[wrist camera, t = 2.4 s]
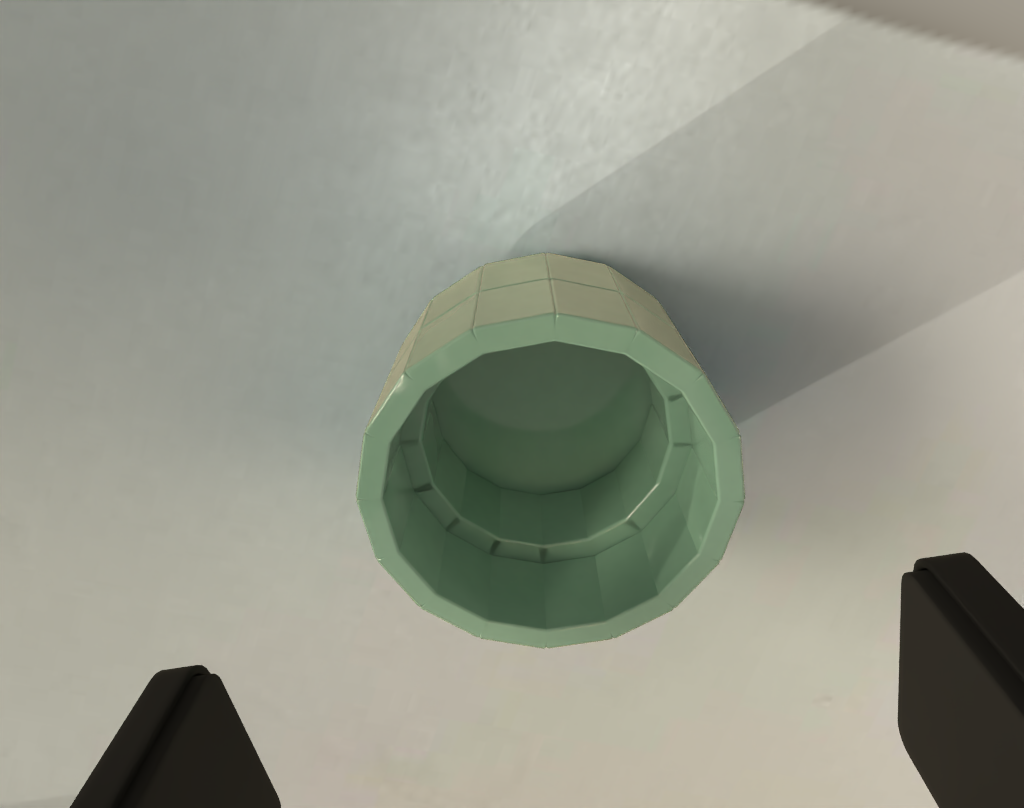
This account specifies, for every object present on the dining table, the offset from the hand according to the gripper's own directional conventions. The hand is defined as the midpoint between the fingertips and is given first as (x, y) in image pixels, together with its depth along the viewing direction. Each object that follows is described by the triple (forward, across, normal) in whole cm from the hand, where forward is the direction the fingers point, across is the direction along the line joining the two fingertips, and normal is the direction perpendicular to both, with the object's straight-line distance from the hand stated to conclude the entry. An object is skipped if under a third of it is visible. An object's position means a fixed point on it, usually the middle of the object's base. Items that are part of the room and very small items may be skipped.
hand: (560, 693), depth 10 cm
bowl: (+9, 0, -1) cm, 9 cm away
